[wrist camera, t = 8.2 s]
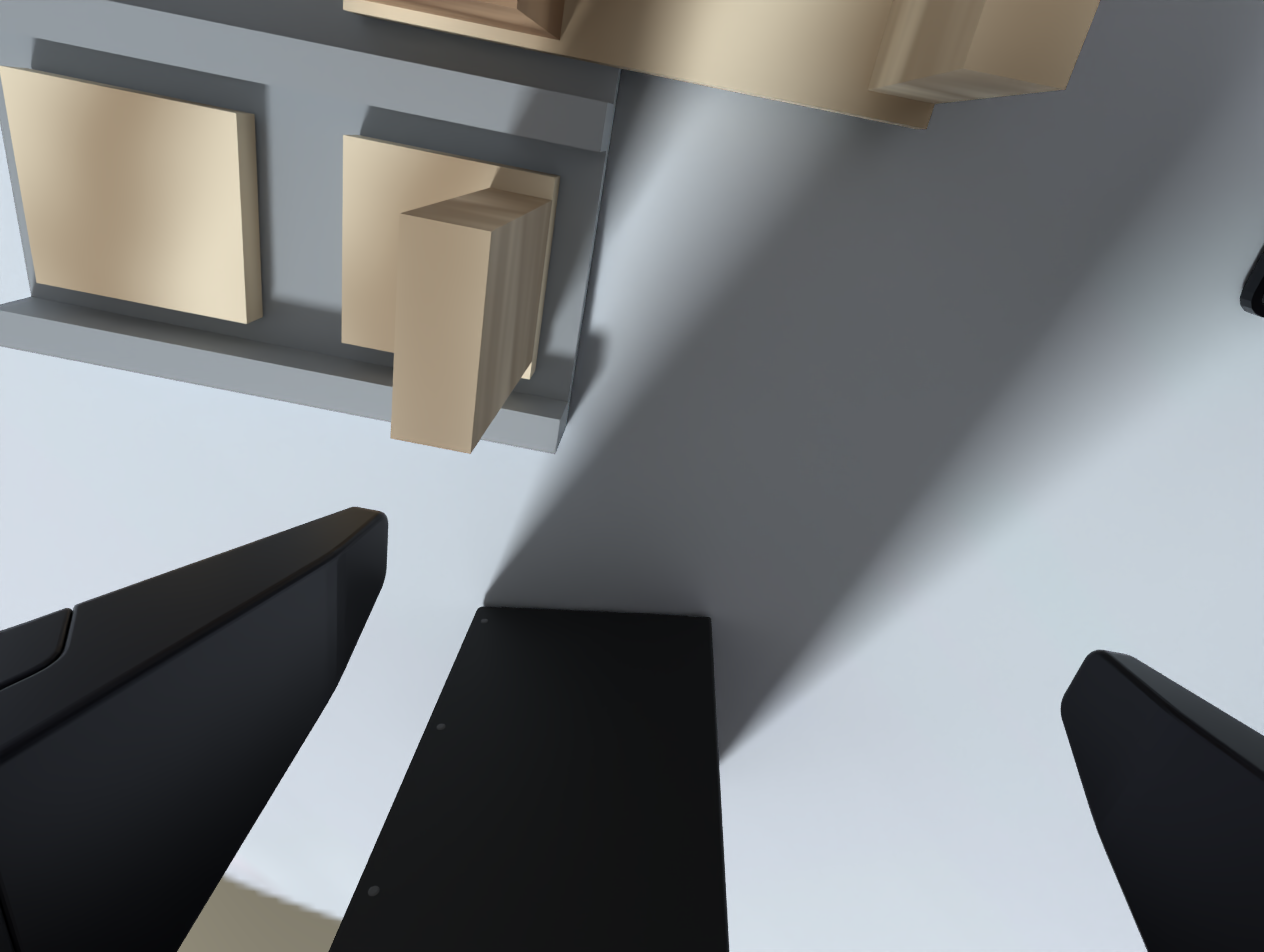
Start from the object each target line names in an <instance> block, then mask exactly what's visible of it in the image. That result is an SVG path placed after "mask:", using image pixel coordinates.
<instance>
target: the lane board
mask: <svg viewBox="0 0 1264 952" xmlns="http://www.w3.org/2000/svg"><path fill="white" fill-rule="evenodd" d="M0 66H10V67H21V68H29V69H34V70H39V71H44V72H49V73H54V74H59V75H64V76H69V77H73V78H78V79H83V80H88V81H93V82H98V83H103V84H108V85H113V86H118V87H123V88H128V89H133V90H138V91H143V92H148V93H153V94H158V95H163V96H168V97H173V98H177V99H182V100H187V101H192V102H197V103H202V104H207V105H212V106H217V107H222V108H227V109H232V110H237V111H242V112H247V113H252V114H255V136H256V161H257V185H258V210H259V234H260V259H261V284H262V308H263V317H262V318H259V319H257V320H255V321H253V322H250V323H248V324H244V323H239V322H234V321H229V320H224V319H219V318H214V317H208V316H203V315H198V314H193V313H188V312H183V311H178V310H173V309H168V308H163V307H158V306H152V305H147V304H142V303H137V302H132V301H127V300H122V299H117V298H112V297H107V296H101V295H96V294H91V293H86V292H81V291H76V290H71V289H66V288H61V287H56V286H51V285H45V284H40V283H37V282H36V276H35V271H34V265H33V259H32V254H31V248H30V242H29V236H28V231H27V225H26V219H25V213H24V208H23V202H22V196H21V191H20V185H19V179H18V173H17V168H16V162H15V156H14V151H13V145H12V139H11V133H10V128H9V122H8V116H7V110H6V105H5V99H4V93H3V88H2V82H1V76H0V124H1V130H2V135H3V141H4V146H5V152H6V158H7V163H8V169H9V174H10V180H11V185H12V191H13V197H14V202H15V208H16V213H17V219H18V224H19V230H20V236H21V241H22V247H23V252H24V258H25V263H26V269H27V275H28V280H29V286H30V291H31V297H29V298H25V299H21V300H17V301H13V302H9V303H5V304H1V305H0V346H2V347H7V348H12V349H17V350H22V351H27V352H32V353H38V354H43V355H48V356H53V357H58V358H63V359H68V360H74V361H79V362H84V363H89V364H94V365H99V366H104V367H110V368H115V369H120V370H125V371H130V372H135V373H140V374H146V375H151V376H156V377H161V378H166V379H171V380H176V381H182V382H187V383H192V384H197V385H202V386H207V387H212V388H218V389H223V390H228V391H233V392H238V393H243V394H248V395H254V396H259V397H264V398H269V399H274V400H279V401H284V402H290V403H295V404H300V405H305V406H310V407H315V408H320V409H326V410H331V411H336V412H341V413H346V414H351V415H356V416H362V417H367V418H372V419H377V420H382V421H387V422H391V415H392V390H393V365H394V353H392V352H387V351H382V350H377V349H371V348H366V347H361V346H356V345H351V344H346V343H342V213H343V135H361V136H366V137H371V138H376V139H381V140H385V141H390V142H395V143H400V144H405V145H410V146H415V147H420V148H425V149H430V150H435V151H440V152H445V153H450V154H455V155H460V156H465V157H470V158H475V159H480V160H485V161H489V162H494V163H499V164H504V165H509V166H514V167H519V168H524V169H529V170H534V171H539V172H544V173H549V174H554V175H559V176H560V184H559V191H558V199H557V207H556V214H555V222H554V230H553V238H552V245H551V253H550V261H549V269H548V276H547V284H546V292H545V299H544V307H543V315H542V323H541V330H540V338H539V346H538V354H537V361H536V369H535V372H534V373H533V375H532V377H531V378H530V380H529V379H524V378H521V379H520V380H519V382H518V383H517V385H516V386H515V388H514V389H513V391H512V392H511V394H510V395H509V397H508V398H507V400H506V401H505V403H504V404H503V406H502V407H501V409H500V410H499V412H498V413H497V415H496V416H495V418H494V419H493V421H492V422H491V424H490V425H489V427H488V428H487V430H486V431H485V433H484V434H483V436H482V437H481V439H480V440H485V441H490V442H495V443H500V444H506V445H511V446H516V447H521V448H526V449H531V450H536V451H542V452H547V453H552V454H555V453H556V451H557V448H558V446H559V443H560V441H561V438H562V436H563V433H564V431H565V428H566V424H567V418H568V411H569V405H570V398H571V392H572V385H573V379H574V372H575V366H576V359H577V353H578V346H579V340H580V333H581V327H582V320H583V314H584V307H585V301H586V294H587V288H588V281H589V275H590V268H591V262H592V256H593V249H594V243H595V236H596V230H597V223H598V217H599V210H600V204H601V197H602V191H603V184H604V178H605V171H606V165H607V158H608V152H609V145H610V139H611V132H612V126H613V119H614V113H615V106H616V100H617V93H618V87H619V80H620V74H621V69H620V68H615V67H610V66H605V65H600V64H595V63H590V62H586V61H581V60H576V59H571V58H566V57H561V56H556V55H551V54H547V53H542V52H537V51H532V50H527V49H522V48H517V47H512V46H508V45H503V44H498V43H493V42H488V41H483V40H478V39H473V38H469V37H464V36H459V35H454V34H449V33H444V32H439V31H434V30H430V29H425V28H420V27H415V26H410V25H405V24H400V23H395V22H391V21H386V20H381V19H376V18H371V17H366V16H361V15H357V14H354V13H352V12H349V11H346V10H343V0H0Z"/></svg>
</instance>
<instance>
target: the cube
mask: <svg viewBox="0 0 1264 952" xmlns="http://www.w3.org/2000/svg"><path fill="white" fill-rule="evenodd" d="M365 1H370V2H375V3H380V4H385V5H389V6H394V7H399V8H404V9H409V10H414V11H419V12H424V13H428V14H433V15H438V16H443V17H448V18H453V19H458V20H462V21H467V22H472V23H477V24H482V25H487V26H492V27H497V28H501V29H506V30H511V31H516V32H521V33H526V34H531V35H535V36H540V37H545V38H550V39H555V40H560V36H561V28H562V19H563V11H564V3H565V0H365Z"/></svg>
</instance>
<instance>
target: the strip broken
mask: <svg viewBox="0 0 1264 952" xmlns="http://www.w3.org/2000/svg"><path fill="white" fill-rule="evenodd" d="M0 76H1V82H2V88H3V93H4V99H5V105H6V110H7V116H8V122H9V128H10V133H11V139H12V145H13V151H14V156H15V162H16V168H17V173H18V179H19V185H20V191H21V196H22V202H23V208H24V213H25V219H26V225H27V231H28V236H29V242H30V248H31V254H32V259H33V265H34V271H35V276H36V282H37V283H40V284H45V285H51V286H56V287H61V288H66V289H71V290H76V291H81V292H86V293H91V294H96V295H101V296H107V297H112V298H117V299H122V300H127V301H132V302H137V303H142V304H147V305H152V306H158V307H163V308H168V309H173V310H178V311H183V312H188V313H193V314H198V315H203V316H208V317H214V318H219V319H224V320H229V321H234V322H239V323H244V324H248V323H250V322H253V321H255V320H257V319H259V318H262V317H263V308H262V284H261V259H260V234H259V210H258V185H257V161H256V136H255V114H252V113H247V112H242V111H237V110H232V109H227V108H222V107H217V106H212V105H207V104H202V103H197V102H192V101H187V100H182V99H177V98H173V97H168V96H163V95H158V94H153V93H148V92H143V91H138V90H133V89H128V88H123V87H118V86H113V85H108V84H103V83H98V82H93V81H88V80H83V79H78V78H73V77H69V76H64V75H59V74H54V73H49V72H44V71H39V70H34V69H29V68H21V67H10V66H0ZM559 184H560V176H559V175H554V174H549V173H544V172H539V171H534V170H529V169H524V168H519V167H514V166H509V165H504V164H499V163H494V162H489V161H485V160H480V159H475V158H470V157H465V156H460V155H455V154H450V153H445V152H440V151H435V150H430V149H425V148H420V147H415V146H410V145H405V144H400V143H395V142H390V141H385V140H381V139H376V138H371V137H366V136H361V135H343V213H342V343H346V344H351V345H356V346H361V347H366V348H371V349H377V350H382V351H387V352H392V353H394V365H393V390H392V415H391V438H392V439H397V440H402V441H407V442H412V443H418V444H423V445H428V446H433V447H438V448H443V449H449V450H454V451H459V452H464V453H469V454H471V452H472V451H473V449H474V448H475V446H476V445H477V443H478V442H479V440H480V439H481V437H482V436H483V434H484V433H485V431H486V430H487V428H488V427H489V425H490V424H491V422H492V421H493V419H494V418H495V416H496V415H497V413H498V412H499V410H500V409H501V407H502V406H503V404H504V403H505V401H506V400H507V398H508V397H509V395H510V394H511V392H512V391H513V389H514V388H515V386H516V385H517V383H518V382H519V380H520V379H521V378H524V379H529V380H530V378H531V377H532V375H533V373H534V372H535V369H536V361H537V354H538V346H539V338H540V330H541V323H542V315H543V307H544V299H545V292H546V284H547V276H548V269H549V261H550V253H551V245H552V238H553V230H554V222H555V214H556V207H557V199H558V191H559Z"/></svg>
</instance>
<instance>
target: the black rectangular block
mask: <svg viewBox="0 0 1264 952" xmlns="http://www.w3.org/2000/svg"><path fill="white" fill-rule="evenodd" d="M329 952H729V938H728V919H727V901H726V882H725V864H724V846H723V827H722V809H721V791H720V772H719V754H718V735H717V717H716V699H715V680H714V662H713V644H712V625H711V618H710V617H693V616H684V615H663V614H641V613H620V612H599V611H578V610H556V609H535V608H516V607H480V608H478V609H477V611H476V614H475V616H474V618H473V620H472V623H471V625H470V627H469V630H468V632H467V634H466V637H465V639H464V641H463V643H462V646H461V648H460V650H459V653H458V655H457V657H456V660H455V662H454V664H453V666H452V669H451V671H450V673H449V676H448V678H447V680H446V683H445V685H444V687H443V689H442V692H441V694H440V696H439V699H438V701H437V703H436V706H435V708H434V710H433V713H432V715H431V717H430V719H429V722H428V724H427V726H426V729H425V731H424V733H423V736H422V738H421V740H420V742H419V745H418V747H417V749H416V752H415V754H414V756H413V759H412V761H411V763H410V765H409V768H408V770H407V772H406V775H405V777H404V779H403V782H402V784H401V786H400V788H399V791H398V793H397V795H396V798H395V800H394V802H393V805H392V807H391V809H390V812H389V814H388V816H387V818H386V821H385V823H384V825H383V828H382V830H381V832H380V835H379V837H378V839H377V841H376V844H375V846H374V848H373V851H372V853H371V855H370V858H369V860H368V862H367V864H366V867H365V869H364V871H363V874H362V876H361V878H360V881H359V883H358V885H357V887H356V890H355V892H354V894H353V897H352V899H351V901H350V904H349V906H348V908H347V911H346V913H345V915H344V917H343V920H342V922H341V924H340V927H339V929H338V931H337V934H336V936H335V938H334V940H333V943H332V945H331V948H330V950H329Z"/></svg>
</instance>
